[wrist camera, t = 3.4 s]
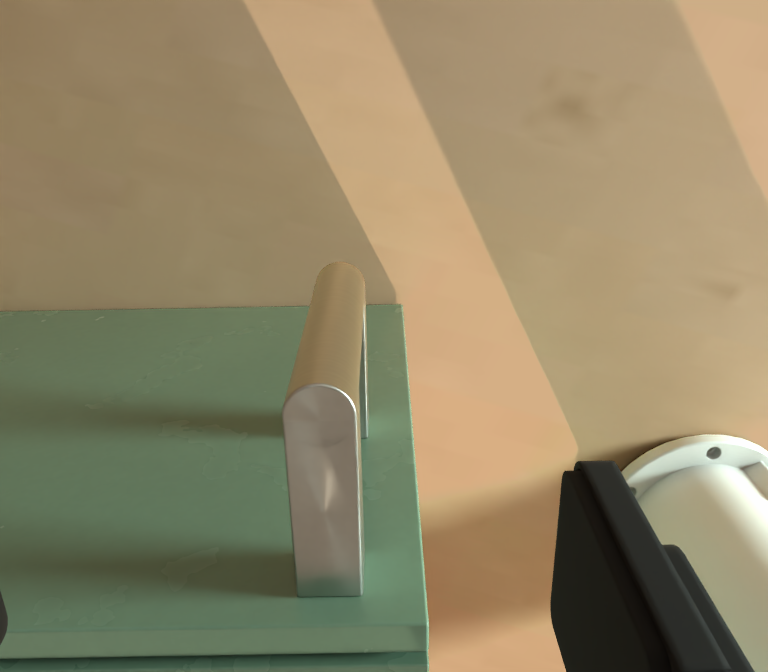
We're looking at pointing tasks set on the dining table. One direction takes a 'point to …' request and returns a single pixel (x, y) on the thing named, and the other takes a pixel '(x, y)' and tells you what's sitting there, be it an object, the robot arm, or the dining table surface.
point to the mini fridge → (229, 663)
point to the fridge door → (210, 480)
